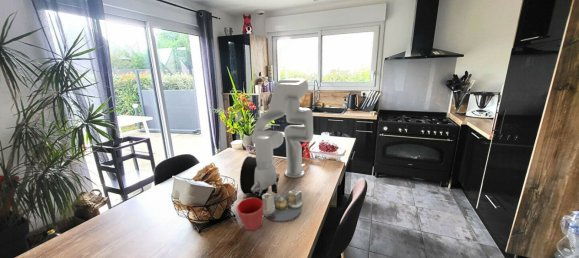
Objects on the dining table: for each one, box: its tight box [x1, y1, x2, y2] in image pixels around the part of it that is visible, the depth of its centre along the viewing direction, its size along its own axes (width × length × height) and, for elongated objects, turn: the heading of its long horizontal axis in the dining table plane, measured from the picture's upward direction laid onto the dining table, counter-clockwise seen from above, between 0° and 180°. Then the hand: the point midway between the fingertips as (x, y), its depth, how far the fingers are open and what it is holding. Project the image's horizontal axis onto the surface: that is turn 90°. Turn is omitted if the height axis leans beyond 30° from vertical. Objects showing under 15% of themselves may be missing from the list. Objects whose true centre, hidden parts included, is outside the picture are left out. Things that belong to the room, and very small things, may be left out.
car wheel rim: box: [239, 155, 270, 195], centre depth 121 cm, size 20×10×20 cm, turn 168°
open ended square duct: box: [262, 192, 275, 214], centre depth 105 cm, size 7×7×7 cm
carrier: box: [263, 188, 304, 223], centre depth 107 cm, size 19×19×8 cm
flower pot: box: [236, 197, 264, 231], centre depth 96 cm, size 11×11×10 cm
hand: (267, 197), depth 105 cm, fingers open, 9 cm apart
